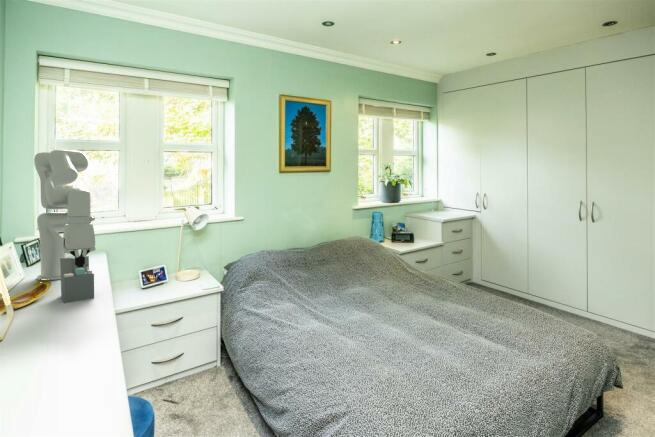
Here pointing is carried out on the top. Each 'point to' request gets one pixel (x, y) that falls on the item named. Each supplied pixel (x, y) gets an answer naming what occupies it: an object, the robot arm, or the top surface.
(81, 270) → the teal button
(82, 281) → the panel
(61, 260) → the skincare box
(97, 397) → the top surface
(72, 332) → the top surface
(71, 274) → the cream button
